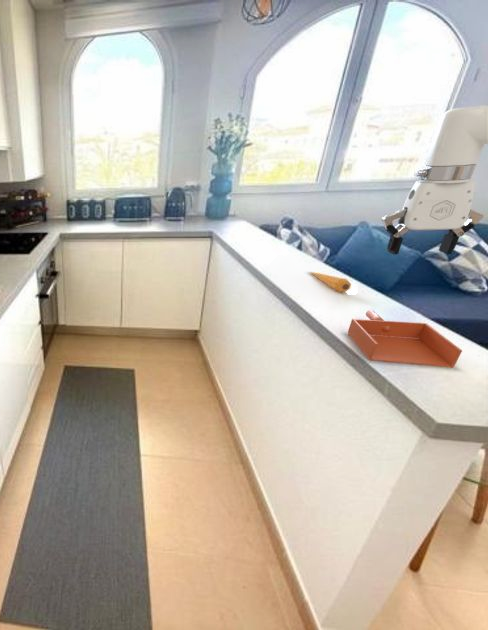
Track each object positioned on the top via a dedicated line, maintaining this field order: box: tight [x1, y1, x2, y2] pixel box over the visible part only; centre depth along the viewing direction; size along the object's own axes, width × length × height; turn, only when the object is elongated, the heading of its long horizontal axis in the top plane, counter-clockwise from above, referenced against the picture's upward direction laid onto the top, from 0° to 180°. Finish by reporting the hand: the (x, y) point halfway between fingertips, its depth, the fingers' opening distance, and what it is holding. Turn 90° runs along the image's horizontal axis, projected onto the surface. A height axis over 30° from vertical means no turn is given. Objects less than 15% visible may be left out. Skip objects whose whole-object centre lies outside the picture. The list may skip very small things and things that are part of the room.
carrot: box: [310, 272, 352, 293], centre depth 118 cm, size 20×4×4 cm, turn 175°
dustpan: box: [347, 309, 463, 369], centre depth 84 cm, size 22×15×4 cm
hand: (418, 252), depth 80 cm, fingers open, 9 cm apart
